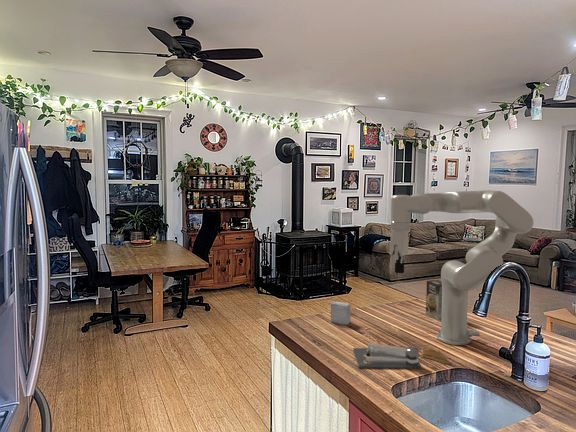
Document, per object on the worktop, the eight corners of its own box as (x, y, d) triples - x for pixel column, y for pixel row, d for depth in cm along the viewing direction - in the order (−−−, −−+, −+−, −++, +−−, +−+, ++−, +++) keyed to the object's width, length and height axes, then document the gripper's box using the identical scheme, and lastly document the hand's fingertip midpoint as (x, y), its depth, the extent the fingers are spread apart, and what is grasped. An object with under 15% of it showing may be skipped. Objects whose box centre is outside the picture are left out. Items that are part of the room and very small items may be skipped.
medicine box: (350, 322, 182) (350, 303, 181) (346, 325, 178) (346, 306, 177) (334, 319, 186) (334, 300, 185) (330, 322, 182) (330, 303, 181)
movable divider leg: (418, 359, 141) (419, 347, 140) (417, 364, 136) (418, 352, 136) (367, 351, 147) (367, 340, 147) (365, 356, 143) (365, 345, 143)
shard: (450, 366, 139) (450, 361, 139) (428, 366, 139) (428, 361, 139) (438, 353, 150) (438, 348, 150) (417, 353, 150) (417, 348, 150)
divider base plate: (409, 351, 151) (409, 344, 151) (421, 368, 137) (421, 360, 137) (353, 350, 151) (353, 343, 151) (358, 368, 137) (358, 360, 137)
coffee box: (425, 313, 193) (426, 280, 192) (436, 312, 195) (437, 279, 193) (437, 319, 184) (438, 285, 183) (449, 318, 186) (450, 284, 185)
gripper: (396, 224, 167) (395, 268, 168) (384, 227, 154) (384, 275, 156) (414, 225, 163) (413, 270, 164) (404, 229, 150) (403, 277, 152)
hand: (399, 272), depth 160 cm, fingers closed
